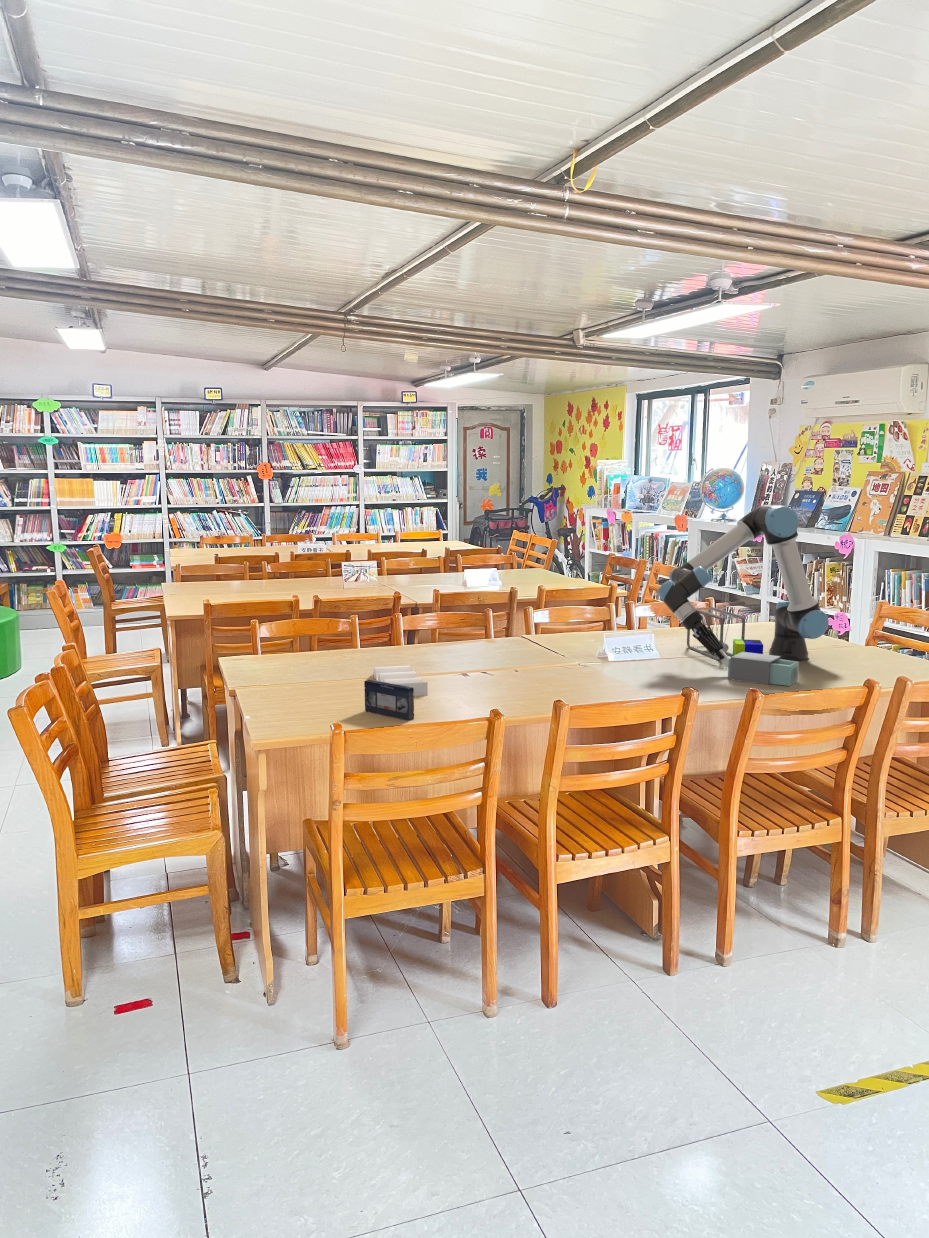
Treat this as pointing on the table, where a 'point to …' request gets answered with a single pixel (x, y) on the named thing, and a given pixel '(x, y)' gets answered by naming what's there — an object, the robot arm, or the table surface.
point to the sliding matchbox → (781, 672)
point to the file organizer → (401, 678)
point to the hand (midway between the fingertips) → (729, 665)
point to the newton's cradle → (716, 628)
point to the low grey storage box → (751, 667)
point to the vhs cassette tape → (389, 699)
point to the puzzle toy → (747, 646)
